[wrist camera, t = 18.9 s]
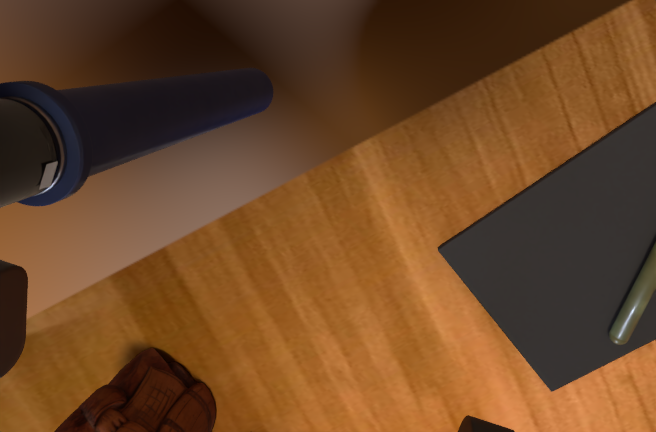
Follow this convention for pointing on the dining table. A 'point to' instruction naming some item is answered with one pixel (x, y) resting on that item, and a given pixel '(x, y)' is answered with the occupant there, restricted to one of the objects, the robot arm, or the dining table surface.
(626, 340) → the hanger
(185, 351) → the dining table surface
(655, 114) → the mat
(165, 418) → the wooden figurine
